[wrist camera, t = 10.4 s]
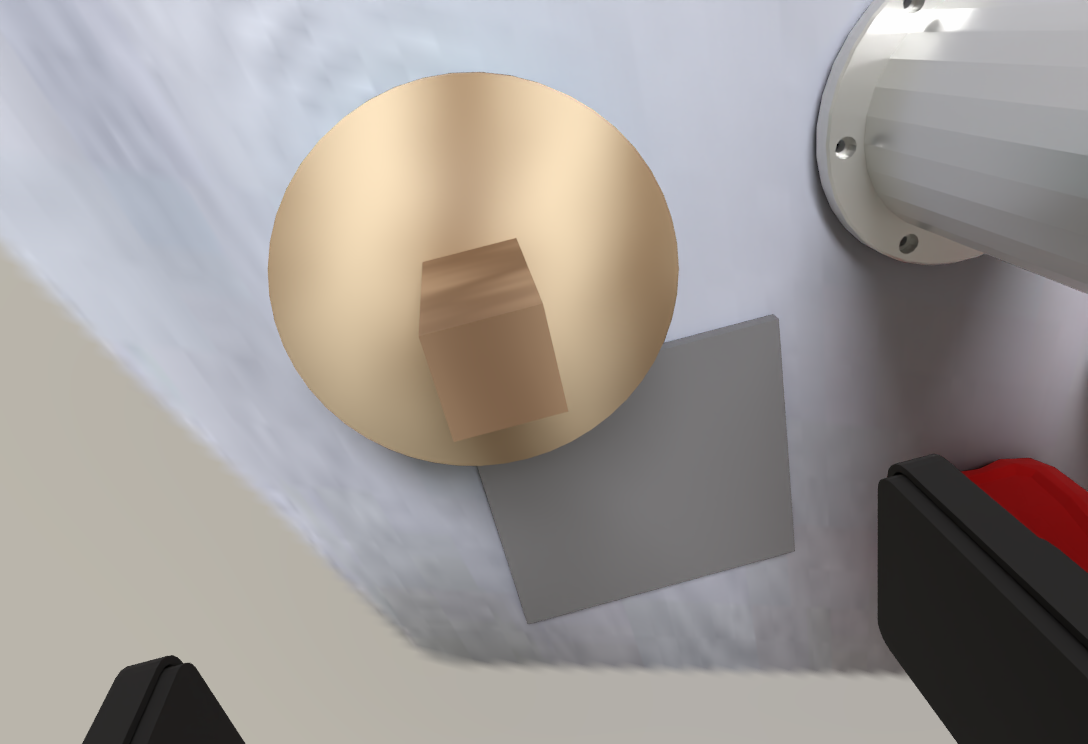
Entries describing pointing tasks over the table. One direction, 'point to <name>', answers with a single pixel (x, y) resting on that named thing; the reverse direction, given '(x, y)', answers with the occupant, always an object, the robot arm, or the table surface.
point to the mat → (656, 480)
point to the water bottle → (1040, 502)
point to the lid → (473, 269)
